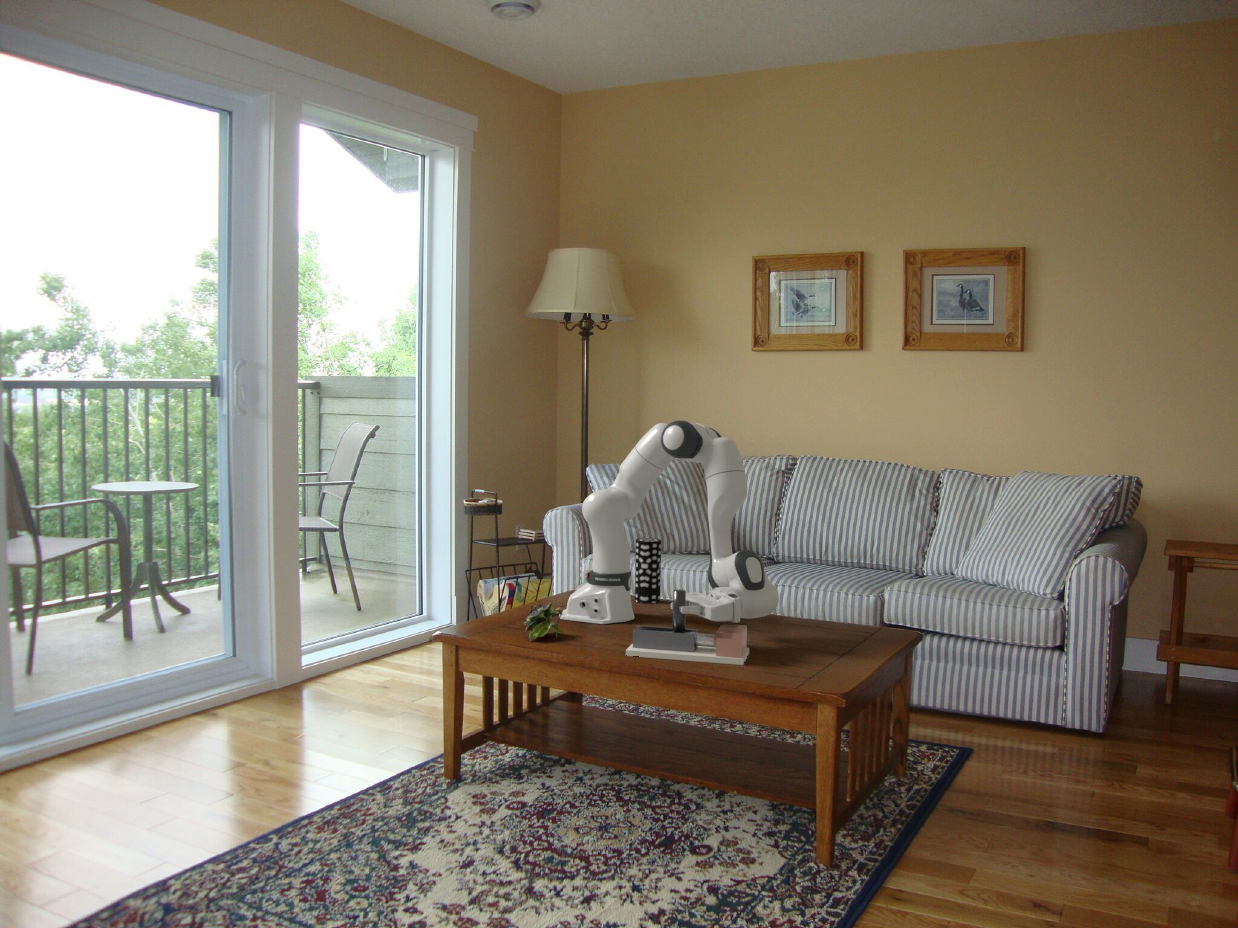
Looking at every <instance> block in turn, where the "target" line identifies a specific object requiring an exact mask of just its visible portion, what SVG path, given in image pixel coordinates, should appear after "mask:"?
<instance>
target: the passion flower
mask: <svg viewBox="0 0 1238 928" xmlns="http://www.w3.org/2000/svg"><path fill="white" fill-rule="evenodd" d="M554 608H555V606H554V605H553V603H552V602H549V603H548V604H543V603H535V605H533V604H532V605H531V606H530V609H529V615H527V617H526V619H525V620H526V621H523V625H524V626H526V628H525V631H524V632H526V633H528V632H529V634H528V639H529V641H530V642H532V640H535V639H537V638H539V637H540V638H542V637H544V636H545V635H548V632H549V631H551V630H553V631H554V633H555V639H556V638H557V637H558V634H562V631H561V630H560V628H559V624H560V620H561V619H560V617H561V615H562V612H563V608H562V607H561V606H560V607H557V608H555V610H556V611H554ZM559 614H560V616H559ZM556 616H557V617H558V620H557V622H556V623H555V622H554V621H553V618H554V617H556ZM557 639H558V638H557Z"/></svg>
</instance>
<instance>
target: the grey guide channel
mask: <svg viewBox="0 0 1238 928" xmlns="http://www.w3.org/2000/svg"><path fill="white" fill-rule="evenodd" d="M671 631H672V632H671ZM685 632H686V633H680V632H673V627H669V626H667V627H666V626H657V625H656V626H654V625H642V624H641V625H636V628H633V629H632V643H633V648H646V649H659V650H672V651H685V652H694V651H695V650H696V648H697V647H698V646H694V643H695V634H694V633H699V629H697V628H695V629H694V628H685Z"/></svg>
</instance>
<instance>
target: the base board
mask: <svg viewBox="0 0 1238 928" xmlns="http://www.w3.org/2000/svg"><path fill="white" fill-rule="evenodd" d="M749 654H750V647H746V650H745V652H744V654H743V656H742V658H735V657H722V656H716V647H704V646H698V647H697V648H696V650H695V651H694V652H685V651H672V650H659V649H646V648H633V642H632V643H631V644H630V645H629V646H628V647H627V648H626V649H625V656H626V655H627V656H626V657H633V656H639V657H638V658H649V659H657V660H658V659H659V660H672V661H673V660H674V661H684V662H686V661H687V662H695V663H696V662H699V663H709V664H711V663H712V664H721V665H722V664H724V665H737V666H744V665H745V663H746V660H747V659H748V657H749ZM747 656H748V657H747ZM744 662H745V663H744Z"/></svg>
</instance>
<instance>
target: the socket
mask: <svg viewBox="0 0 1238 928" xmlns="http://www.w3.org/2000/svg"><path fill="white" fill-rule="evenodd" d="M715 635H716V656H722V657H735V658H742V656H743V654H744V652H745V650H746V648H748V646H747V645H748V644H747V642H748V640H747V638H748V636H747V635H748V625H743V624H742V625H741V624H730V623H722V624H721V625H720V627H718V629H717V631H716V633H715Z"/></svg>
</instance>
